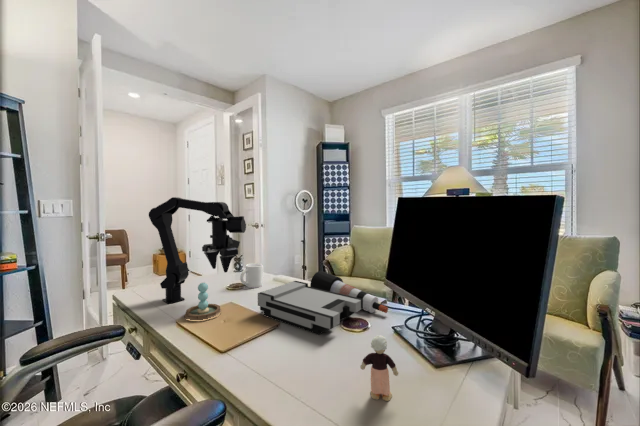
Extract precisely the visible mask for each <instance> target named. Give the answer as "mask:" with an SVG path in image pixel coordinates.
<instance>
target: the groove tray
mask: <svg viewBox="0 0 640 426" xmlns="http://www.w3.org/2000/svg"><path fill="white" fill-rule="evenodd" d="M208 308H209V312H208V313H205V314H198V309H199V307H198V304H197V305H194V306H191V307H189V308H187V309H186V311H185V314H184V319H185V318H186V319H190V320H203V319H208V318H211V317H214V316H216V315H218V314H219V313H220V312H221V313H222V309H221V306H220V305H218V304H216V303H208ZM186 319H185V320H186Z"/></svg>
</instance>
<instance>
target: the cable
mask: <svg viewBox="0 0 640 426" xmlns="http://www.w3.org/2000/svg"><path fill="white" fill-rule="evenodd" d="M309 284H310V285H309V287H313V288H317V289H322V290H326V291H330V292H335V293H339V294H343V295H348V296H352V297H356V298H361V299H363V308H362V309H361V310H364V311H366V312H369V313H371V314H372V313H375V312H376V310H377V311H379V312H382V313H385V314H387V313H388V312H389V308H388V306H386V305H383V304H381V303H379V298H378V297H377V296H374V295H371V294H370V293H368V292H365V291H363V290H361V289H358V288H357V287H355V286H352V285H349V284H347V283H345V282H344V281H343V279H342V278H341V277H339V276H336V275H334V274H331V273H328V272H325V271H322V270H318V271H316V272H315V273H314V274H313V276H312V277H311V279H310V283H309Z"/></svg>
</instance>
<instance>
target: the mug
mask: <svg viewBox="0 0 640 426" xmlns="http://www.w3.org/2000/svg"><path fill="white" fill-rule="evenodd" d="M244 276H245V281H244ZM239 278H240V279H239V280H240V283H241V284H243V285H244V286H246V287H247V288H250V289H257V288H258V289H259V288H260V287H263V285H264V264H263V263H259V262H257V263H255V262H254V263H247V264H246V265H245V269H244V270H243V271H241V274H240V277H239Z"/></svg>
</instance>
